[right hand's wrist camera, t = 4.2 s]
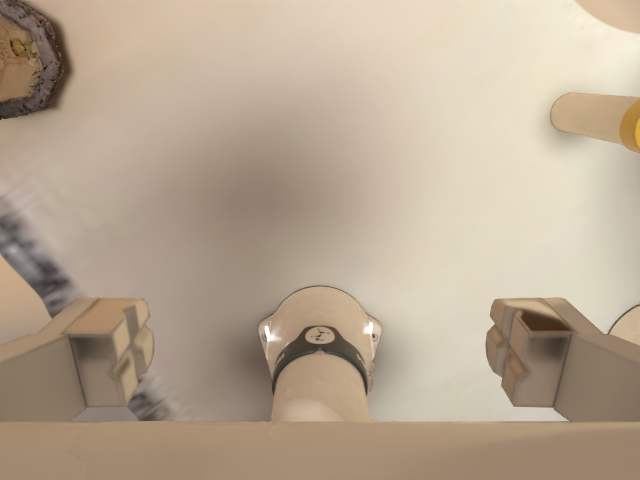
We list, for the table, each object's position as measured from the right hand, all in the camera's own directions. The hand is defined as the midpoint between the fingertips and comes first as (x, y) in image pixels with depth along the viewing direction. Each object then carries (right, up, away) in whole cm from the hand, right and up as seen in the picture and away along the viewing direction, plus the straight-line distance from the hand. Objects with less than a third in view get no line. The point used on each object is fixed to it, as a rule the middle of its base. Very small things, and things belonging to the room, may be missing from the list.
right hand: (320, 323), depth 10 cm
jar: (+32, +18, +44) cm, 58 cm away
